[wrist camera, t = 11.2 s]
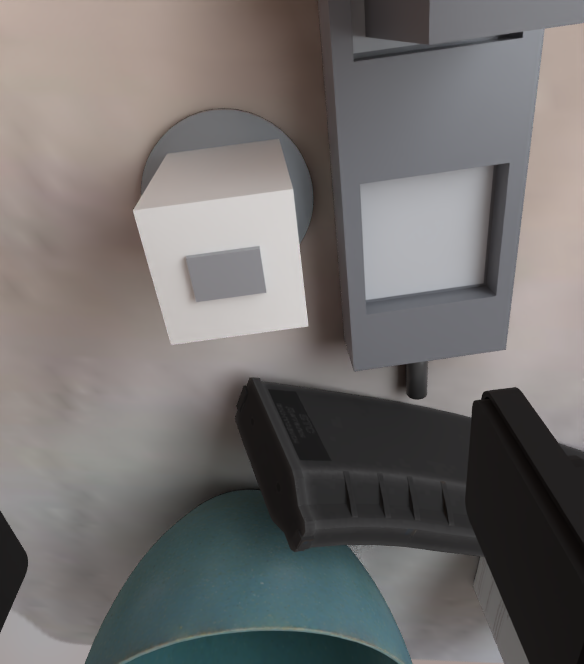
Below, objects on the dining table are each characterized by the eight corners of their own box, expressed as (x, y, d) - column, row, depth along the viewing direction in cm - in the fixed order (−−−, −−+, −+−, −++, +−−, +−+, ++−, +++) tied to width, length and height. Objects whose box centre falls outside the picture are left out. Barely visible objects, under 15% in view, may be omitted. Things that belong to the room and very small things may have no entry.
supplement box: (555, 578, 43) (657, 762, 33) (469, 585, 43) (544, 774, 32) (578, 520, 40) (702, 707, 29) (485, 528, 39) (575, 720, 28)
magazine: (177, 520, 23) (813, 793, 22) (194, 470, 21) (878, 761, 20) (269, 347, 38) (647, 506, 37) (283, 311, 36) (678, 475, 36)
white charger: (291, 244, 25) (309, 329, 18) (191, 257, 25) (169, 348, 18) (279, 138, 23) (293, 191, 16) (167, 153, 23) (131, 213, 16)
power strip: (477, 376, 31) (503, 415, 28) (348, 395, 31) (359, 435, 28) (539, -310, 17) (605, -385, 14) (295, -276, 17) (307, -344, 13)
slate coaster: (319, 263, 26) (320, 268, 26) (167, 285, 26) (165, 290, 26) (302, 96, 22) (303, 97, 22) (121, 122, 22) (118, 124, 22)
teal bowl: (388, 430, 33) (454, 619, 23) (358, 595, 42) (395, 782, 32) (100, 437, 32) (28, 644, 21) (136, 607, 41) (98, 807, 30)
